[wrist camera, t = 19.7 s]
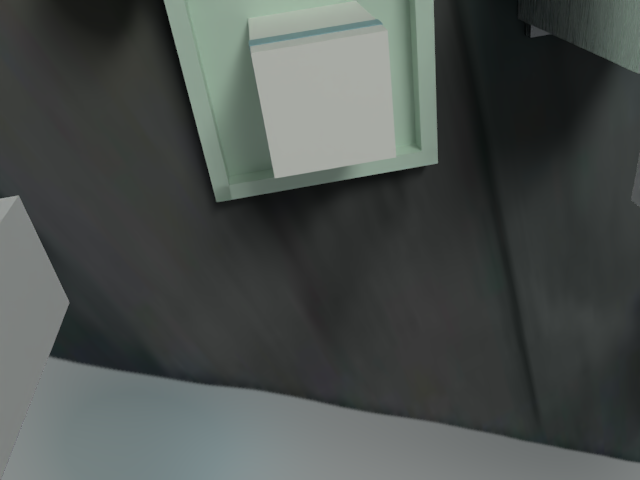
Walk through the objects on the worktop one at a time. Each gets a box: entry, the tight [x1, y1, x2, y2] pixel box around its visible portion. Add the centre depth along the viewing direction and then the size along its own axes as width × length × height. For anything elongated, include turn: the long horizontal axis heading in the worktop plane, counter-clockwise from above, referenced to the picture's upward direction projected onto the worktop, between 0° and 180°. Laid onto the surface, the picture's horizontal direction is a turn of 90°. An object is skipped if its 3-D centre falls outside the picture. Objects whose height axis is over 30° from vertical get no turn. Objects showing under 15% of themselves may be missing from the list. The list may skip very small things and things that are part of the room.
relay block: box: [248, 1, 396, 178], centre depth 30 cm, size 6×6×8 cm
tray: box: [164, 0, 438, 202], centre depth 33 cm, size 14×14×2 cm
